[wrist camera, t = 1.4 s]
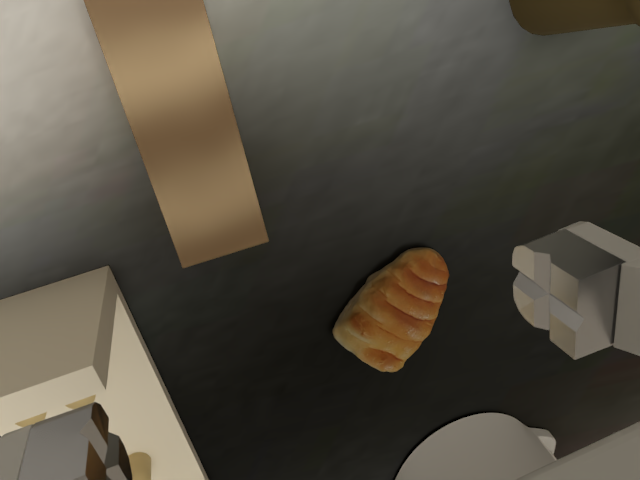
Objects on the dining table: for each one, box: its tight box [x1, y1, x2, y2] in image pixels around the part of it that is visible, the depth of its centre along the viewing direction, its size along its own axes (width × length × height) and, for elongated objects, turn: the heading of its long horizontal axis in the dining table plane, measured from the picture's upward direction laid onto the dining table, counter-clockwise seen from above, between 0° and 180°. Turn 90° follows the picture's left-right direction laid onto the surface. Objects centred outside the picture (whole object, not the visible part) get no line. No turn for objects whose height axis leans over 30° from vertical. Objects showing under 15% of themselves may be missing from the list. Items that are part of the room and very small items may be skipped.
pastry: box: [333, 248, 449, 372], centre depth 37 cm, size 9×7×4 cm
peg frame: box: [0, 265, 209, 480], centre depth 31 cm, size 20×10×10 cm, turn 13°
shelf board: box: [84, 0, 269, 268], centre depth 28 cm, size 14×5×4 cm, turn 12°
